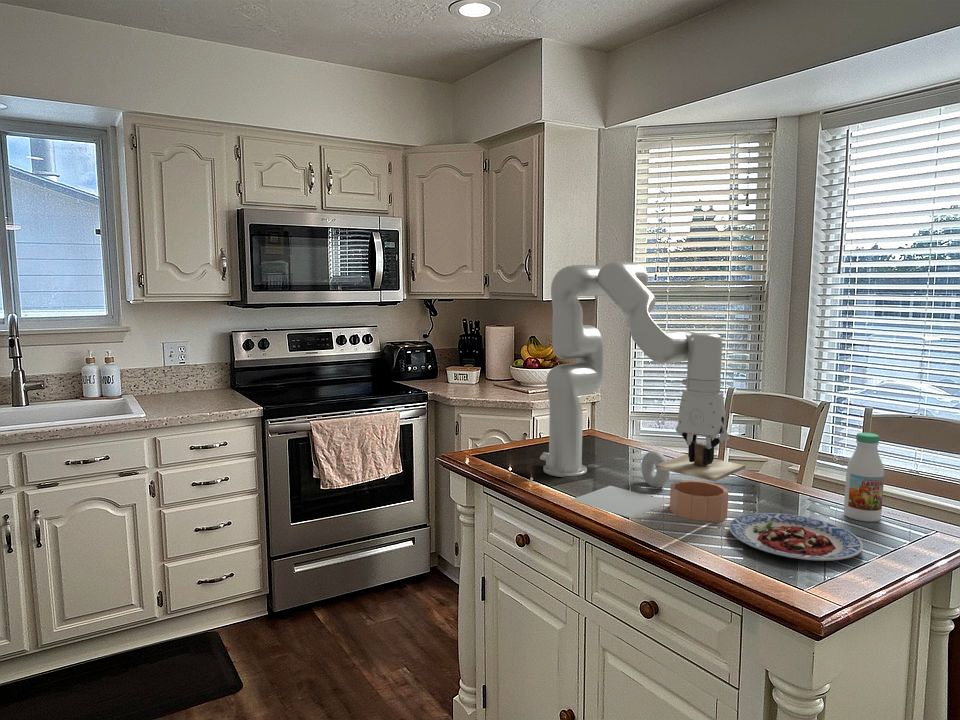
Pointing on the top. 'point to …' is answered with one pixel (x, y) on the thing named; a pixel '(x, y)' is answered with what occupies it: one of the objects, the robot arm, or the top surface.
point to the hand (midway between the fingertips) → (700, 461)
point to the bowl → (699, 500)
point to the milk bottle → (864, 480)
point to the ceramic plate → (796, 536)
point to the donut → (648, 469)
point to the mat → (620, 501)
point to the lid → (700, 466)
